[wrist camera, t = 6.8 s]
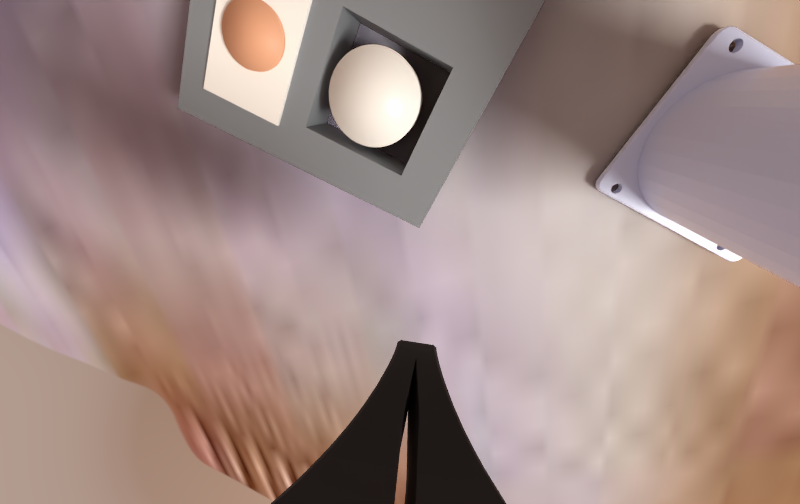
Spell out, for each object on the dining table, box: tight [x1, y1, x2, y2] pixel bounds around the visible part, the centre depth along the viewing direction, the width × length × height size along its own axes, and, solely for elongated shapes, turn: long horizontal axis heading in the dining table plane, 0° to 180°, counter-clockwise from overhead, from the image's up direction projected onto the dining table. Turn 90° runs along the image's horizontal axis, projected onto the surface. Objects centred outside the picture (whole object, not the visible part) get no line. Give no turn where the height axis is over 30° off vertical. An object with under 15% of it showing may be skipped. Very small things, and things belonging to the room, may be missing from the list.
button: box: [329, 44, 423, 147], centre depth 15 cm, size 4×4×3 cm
